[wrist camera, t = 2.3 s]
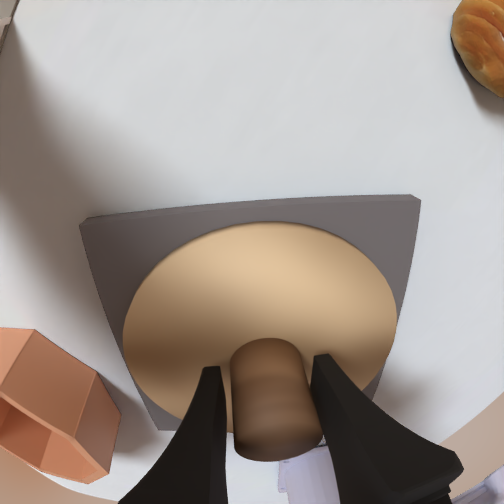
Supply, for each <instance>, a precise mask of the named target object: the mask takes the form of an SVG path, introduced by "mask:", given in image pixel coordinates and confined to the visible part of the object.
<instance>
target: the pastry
mask: <svg viewBox="0 0 504 504" xmlns="http://www.w3.org/2000/svg"><path fill="white" fill-rule="evenodd" d="M451 37H452V40H453V44H454V46H455V48H456V49H457V51H458V53H459V54H460V56H461V58H462V60H463V62H464V64H465V66H466V68H467V70H468V71H469V72H470V74H471V75H472V76H473V77H474V78H475V79H476V80H477V81H478V82H479V83H480V84H481V85H482V86H484V87H486V88H487V89H489V90H490V91H492V92H493V93H494V94H496V95H497V96H499V97H500V98H504V0H462V1H461V3H460V4H459V6H458V7H457V9H456V11H455V12H454V14H453V24H452V28H451Z"/></svg>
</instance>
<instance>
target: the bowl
mask: <svg viewBox="0 0 504 504" xmlns="http://www.w3.org/2000/svg"><path fill="white" fill-rule="evenodd" d="M120 418H121V414H120V412H119V410H118V409H117V407H116V405H115V404H114V402H113V400H112V399H111V397H110V395H109V393H108V392H107V390H106V388H105V386H104V385H103V383H102V381H101V379H100V377H99V375H98V373H97V372H96V371H95V370H93V369H91V368H90V367H88V366H87V365H85V364H83V363H82V362H80V361H79V360H77V359H76V358H74V357H73V356H71V355H70V354H68V353H67V352H65V351H64V350H62V349H61V348H59V347H58V346H56V345H55V344H54V343H52V342H51V341H49V340H48V339H47V338H45V337H44V336H42V335H41V334H40V333H38V332H37V331H36V330H34V329H15V328H0V447H1V448H3V449H4V450H6V451H7V452H9V453H10V454H12V455H13V456H15V457H17V458H18V459H20V460H22V461H23V462H25V463H27V464H28V465H30V466H32V467H34V468H36V469H37V470H39V471H41V472H44V473H47V474H51V475H54V476H57V477H61V478H65V479H69V480H72V481H77V482H81V483H85V484H90V483H92V482H94V481H96V480H98V479H100V478H102V477H104V476H106V475H108V474H109V471H110V466H111V461H112V456H113V451H114V446H115V441H116V436H117V432H118V427H119V423H120Z"/></svg>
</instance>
